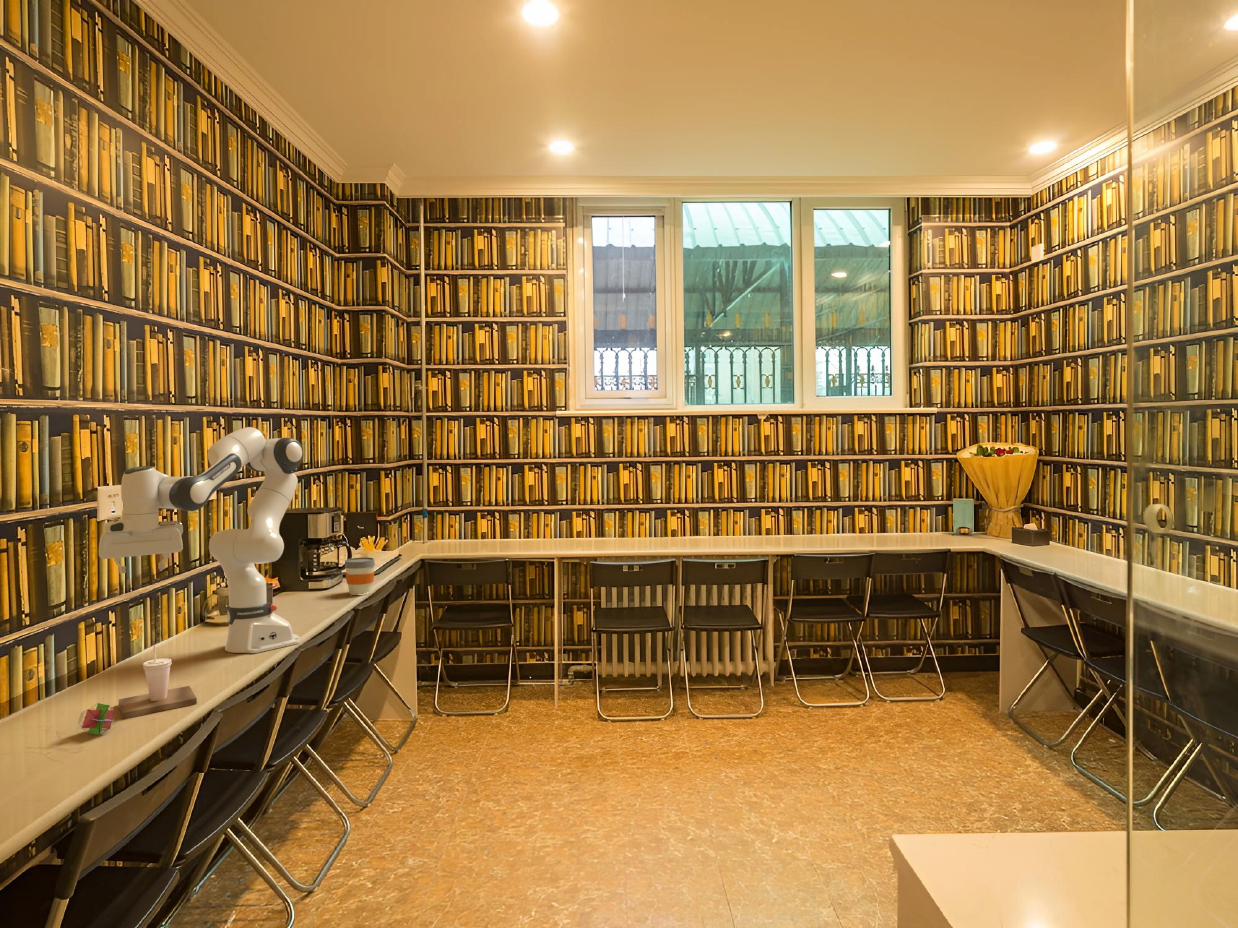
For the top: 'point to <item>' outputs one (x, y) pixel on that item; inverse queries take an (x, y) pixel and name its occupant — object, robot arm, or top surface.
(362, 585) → the reusable coffee cup
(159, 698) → the smoothie
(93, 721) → the geometric puzzle
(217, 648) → the top surface
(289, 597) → the top surface
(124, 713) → the serving board
